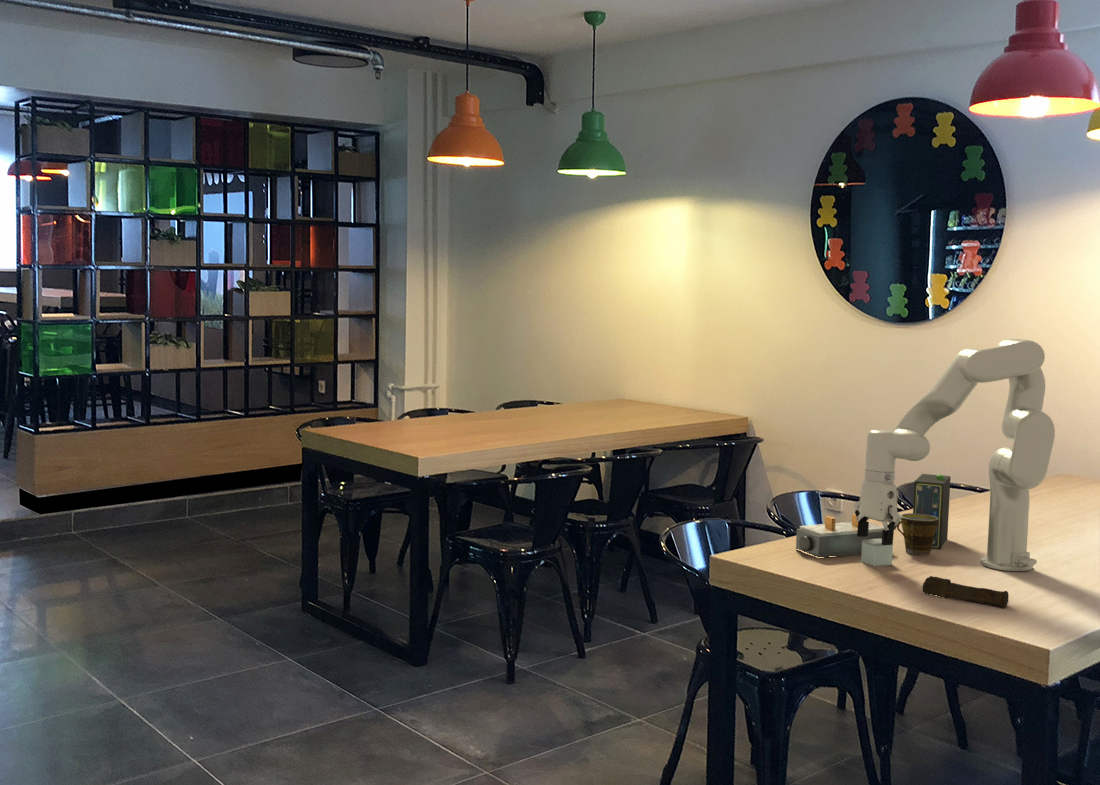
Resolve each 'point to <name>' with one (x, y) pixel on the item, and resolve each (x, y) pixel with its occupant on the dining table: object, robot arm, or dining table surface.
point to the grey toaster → (834, 538)
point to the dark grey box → (933, 503)
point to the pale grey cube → (876, 552)
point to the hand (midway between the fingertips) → (874, 540)
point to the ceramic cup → (918, 532)
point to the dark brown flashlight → (964, 592)
